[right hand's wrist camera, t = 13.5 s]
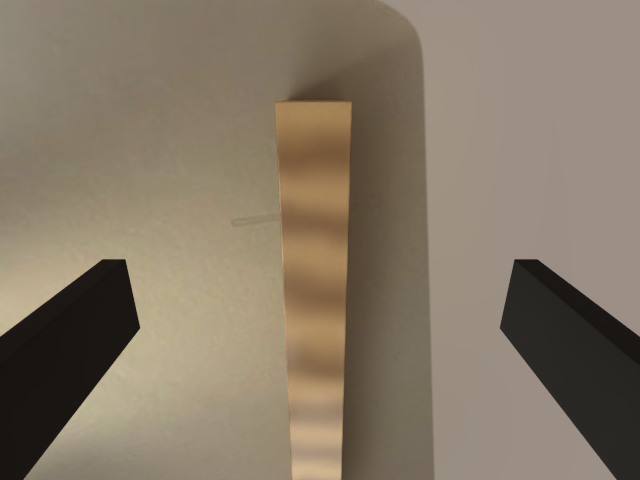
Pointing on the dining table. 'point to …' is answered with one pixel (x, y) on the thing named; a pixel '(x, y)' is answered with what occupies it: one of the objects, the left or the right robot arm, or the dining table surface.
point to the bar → (315, 276)
